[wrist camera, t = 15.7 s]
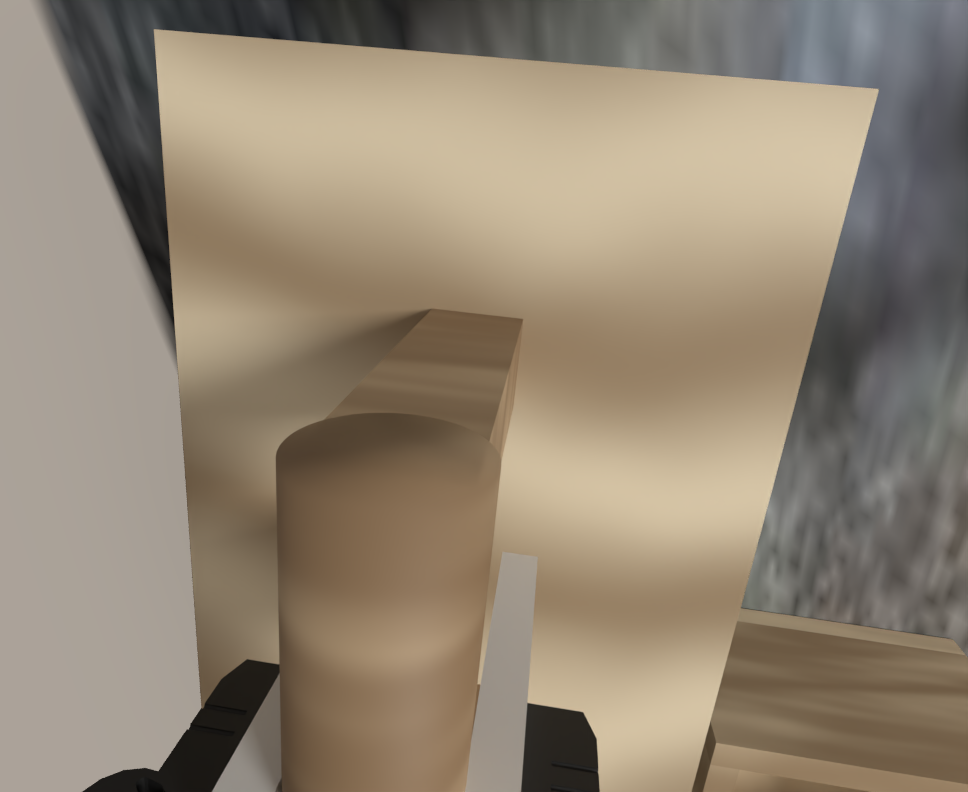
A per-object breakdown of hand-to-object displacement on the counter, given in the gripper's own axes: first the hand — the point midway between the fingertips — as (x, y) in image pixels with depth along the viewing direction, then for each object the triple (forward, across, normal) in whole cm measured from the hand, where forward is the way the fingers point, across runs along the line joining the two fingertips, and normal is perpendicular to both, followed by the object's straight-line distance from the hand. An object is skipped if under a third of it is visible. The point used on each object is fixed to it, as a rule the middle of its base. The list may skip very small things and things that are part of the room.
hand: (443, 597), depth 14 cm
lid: (+4, 0, 0) cm, 4 cm away
